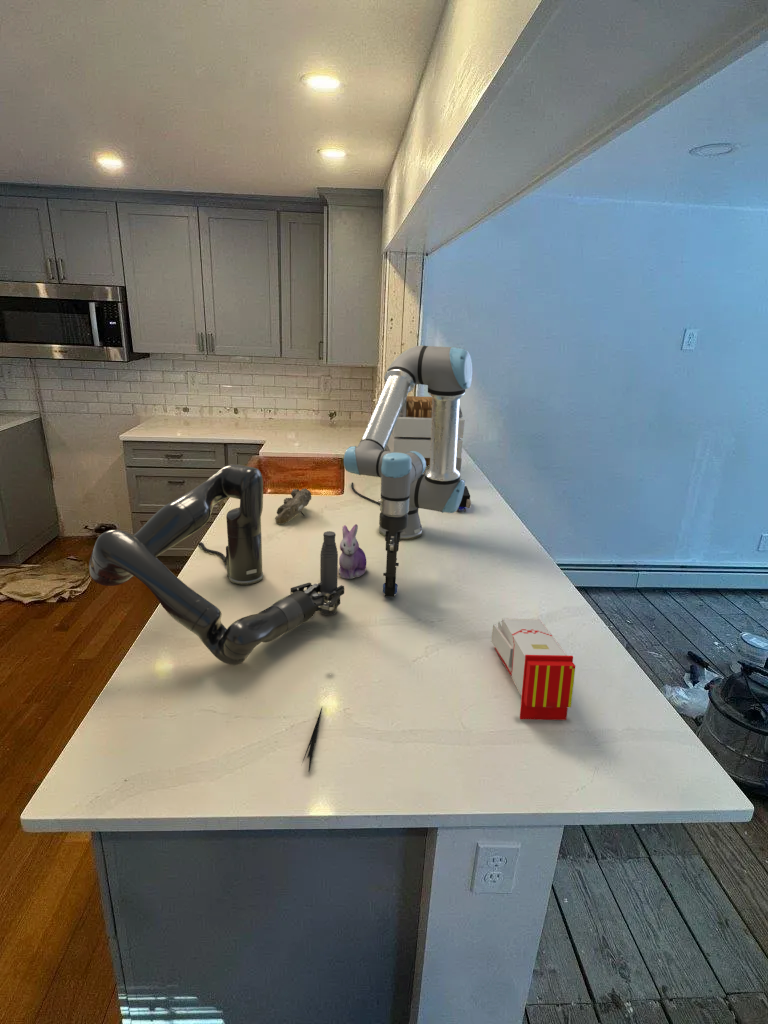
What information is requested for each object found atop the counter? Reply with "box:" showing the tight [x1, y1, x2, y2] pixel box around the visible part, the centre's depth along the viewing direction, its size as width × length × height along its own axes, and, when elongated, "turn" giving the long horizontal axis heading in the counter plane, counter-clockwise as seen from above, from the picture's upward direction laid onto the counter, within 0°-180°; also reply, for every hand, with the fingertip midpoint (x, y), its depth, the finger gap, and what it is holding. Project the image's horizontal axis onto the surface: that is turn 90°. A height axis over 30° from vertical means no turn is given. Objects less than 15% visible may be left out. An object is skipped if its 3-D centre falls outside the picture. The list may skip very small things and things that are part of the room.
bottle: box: [319, 530, 339, 616], centre depth 144 cm, size 4×4×22 cm
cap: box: [382, 582, 399, 595], centre depth 156 cm, size 4×4×2 cm
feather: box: [301, 673, 332, 771], centre depth 108 cm, size 2×28×2 cm
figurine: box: [338, 523, 368, 580], centre depth 166 cm, size 9×10×15 cm
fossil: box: [274, 488, 312, 525], centre depth 211 cm, size 22×10×15 cm
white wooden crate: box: [385, 395, 465, 475], centre depth 268 cm, size 34×33×41 cm
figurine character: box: [456, 485, 472, 513], centre depth 228 cm, size 7×8×15 cm
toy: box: [490, 617, 576, 721], centre depth 122 cm, size 12×13×30 cm
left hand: (335, 586), depth 148 cm, fingers closed on bottle, 4 cm apart
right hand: (389, 592), depth 156 cm, fingers closed on cap, 4 cm apart
